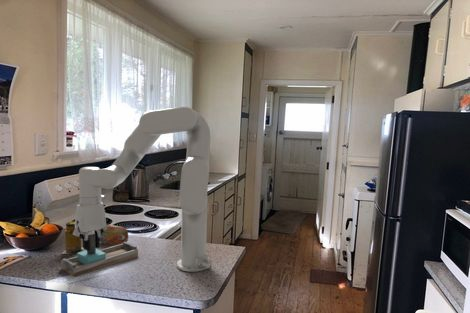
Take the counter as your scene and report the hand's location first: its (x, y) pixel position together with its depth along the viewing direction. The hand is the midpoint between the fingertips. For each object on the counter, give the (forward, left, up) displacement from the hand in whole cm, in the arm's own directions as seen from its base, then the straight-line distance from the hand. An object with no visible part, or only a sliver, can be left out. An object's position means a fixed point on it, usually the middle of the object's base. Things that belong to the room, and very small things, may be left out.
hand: (91, 248), depth 133 cm
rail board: (0, -4, -7) cm, 8 cm away
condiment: (+19, -3, -7) cm, 20 cm away
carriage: (0, 0, -5) cm, 5 cm away
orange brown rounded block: (+15, -18, -7) cm, 24 cm away
